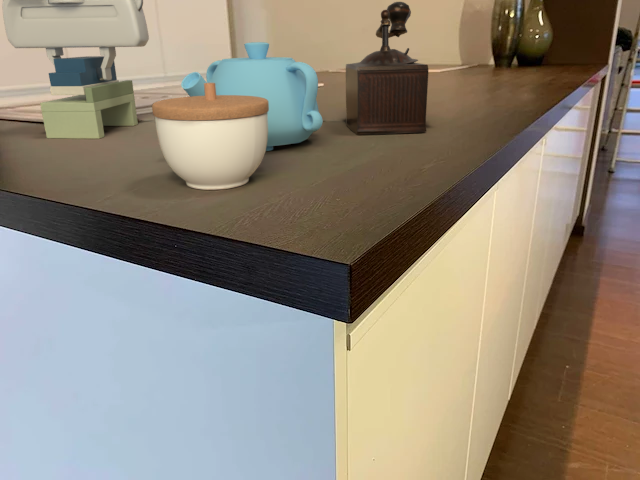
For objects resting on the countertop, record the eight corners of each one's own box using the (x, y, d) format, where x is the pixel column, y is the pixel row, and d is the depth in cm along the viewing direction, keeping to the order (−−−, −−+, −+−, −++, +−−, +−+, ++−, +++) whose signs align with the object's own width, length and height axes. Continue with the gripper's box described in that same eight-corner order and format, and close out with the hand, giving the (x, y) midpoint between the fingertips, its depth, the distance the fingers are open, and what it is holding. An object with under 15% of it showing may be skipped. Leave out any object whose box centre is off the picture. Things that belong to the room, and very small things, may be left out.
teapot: (355, 141, 72) (356, 40, 67) (253, 171, 57) (246, 44, 52) (247, 128, 83) (242, 41, 78) (138, 151, 68) (123, 44, 63)
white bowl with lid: (217, 164, 60) (209, 77, 57) (293, 177, 54) (290, 80, 51) (138, 186, 52) (124, 85, 48) (218, 203, 46) (209, 90, 43)
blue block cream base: (90, 87, 86) (85, 56, 85) (120, 87, 86) (115, 56, 84) (51, 95, 76) (44, 59, 74) (84, 95, 76) (78, 59, 74)
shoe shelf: (46, 138, 77) (36, 88, 75) (92, 124, 89) (85, 80, 87) (99, 138, 77) (91, 87, 74) (138, 124, 89) (132, 80, 86)
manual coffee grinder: (431, 132, 77) (439, -5, 71) (355, 135, 76) (357, -4, 70) (403, 117, 92) (408, 2, 85) (339, 119, 90) (339, 3, 84)
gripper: (149, -22, 77) (160, 78, 82) (16, -19, 79) (35, 79, 84) (129, -27, 71) (143, 81, 76) (-13, -23, 74) (9, 82, 79)
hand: (85, 80), depth 80 cm, fingers closed on blue block cream base, 5 cm apart
